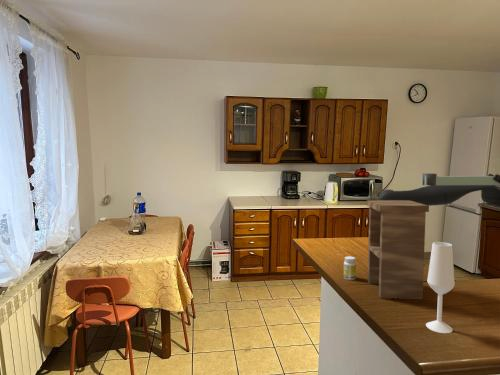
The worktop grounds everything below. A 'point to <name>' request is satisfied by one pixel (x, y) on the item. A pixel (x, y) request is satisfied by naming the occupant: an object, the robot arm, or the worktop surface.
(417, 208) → the walnut shelf
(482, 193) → the robot arm
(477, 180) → the capped bar
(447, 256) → the champagne flute
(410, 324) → the worktop surface
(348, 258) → the supplement bottle
